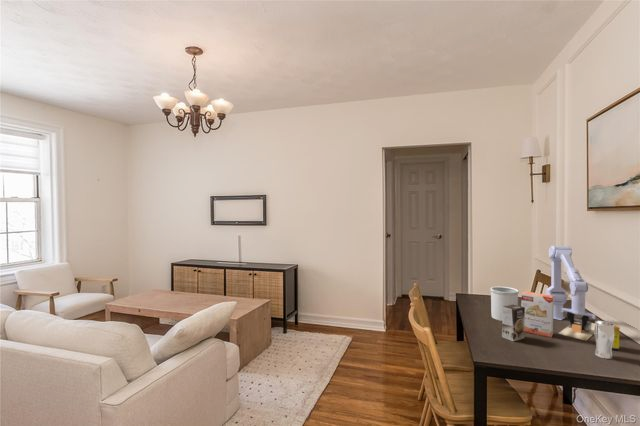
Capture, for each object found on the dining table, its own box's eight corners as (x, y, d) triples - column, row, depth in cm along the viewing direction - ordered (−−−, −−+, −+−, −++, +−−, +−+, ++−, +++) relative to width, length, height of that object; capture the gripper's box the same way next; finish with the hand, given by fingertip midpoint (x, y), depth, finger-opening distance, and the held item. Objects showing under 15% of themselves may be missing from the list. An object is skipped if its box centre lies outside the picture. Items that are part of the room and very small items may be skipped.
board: (558, 333, 177) (558, 333, 177) (576, 320, 199) (576, 319, 199) (586, 340, 168) (586, 340, 168) (602, 325, 189) (602, 325, 189)
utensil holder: (491, 320, 197) (491, 290, 197) (488, 312, 211) (489, 285, 211) (520, 323, 192) (520, 293, 191) (515, 315, 206) (516, 287, 205)
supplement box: (619, 350, 157) (620, 327, 157) (604, 349, 159) (605, 326, 158) (611, 345, 163) (611, 322, 163) (597, 344, 164) (597, 321, 164)
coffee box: (513, 342, 166) (514, 309, 166) (501, 337, 172) (502, 306, 172) (524, 338, 171) (525, 307, 170) (512, 334, 176) (513, 303, 176)
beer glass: (589, 352, 154) (590, 320, 154) (603, 352, 155) (604, 320, 155) (603, 359, 148) (604, 326, 147) (618, 359, 148) (619, 325, 148)
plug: (577, 326, 188) (577, 320, 188) (586, 328, 185) (586, 322, 184) (571, 330, 181) (571, 324, 181) (580, 333, 178) (580, 326, 177)
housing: (568, 327, 185) (568, 319, 185) (570, 326, 188) (571, 317, 188) (589, 332, 178) (589, 323, 178) (591, 330, 181) (591, 321, 181)
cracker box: (520, 331, 180) (521, 292, 180) (522, 328, 185) (523, 290, 185) (551, 338, 171) (552, 297, 171) (553, 334, 176) (554, 295, 175)
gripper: (559, 301, 183) (559, 326, 184) (593, 307, 172) (592, 334, 173) (564, 299, 188) (563, 323, 188) (596, 305, 177) (596, 330, 177)
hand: (577, 328), depth 181 cm, fingers closed on plug, 4 cm apart
